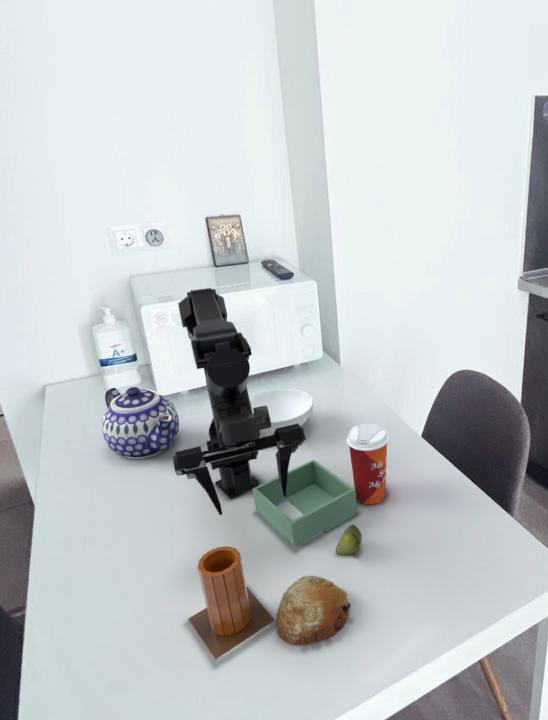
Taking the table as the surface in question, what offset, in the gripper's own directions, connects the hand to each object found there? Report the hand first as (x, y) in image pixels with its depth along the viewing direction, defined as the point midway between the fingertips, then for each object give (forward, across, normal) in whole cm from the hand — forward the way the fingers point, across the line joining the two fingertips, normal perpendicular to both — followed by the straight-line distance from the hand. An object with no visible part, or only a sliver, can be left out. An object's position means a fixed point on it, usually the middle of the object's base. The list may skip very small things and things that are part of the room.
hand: (253, 505), depth 80 cm
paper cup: (+3, +23, +18) cm, 29 cm away
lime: (+11, +14, +9) cm, 20 cm away
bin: (+3, +10, +18) cm, 21 cm away
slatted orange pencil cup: (+14, -6, +4) cm, 16 cm away
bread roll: (+18, +5, +1) cm, 19 cm away
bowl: (-17, +12, +42) cm, 47 cm away
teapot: (-21, -16, +48) cm, 54 cm away
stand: (+15, -6, +4) cm, 17 cm away
